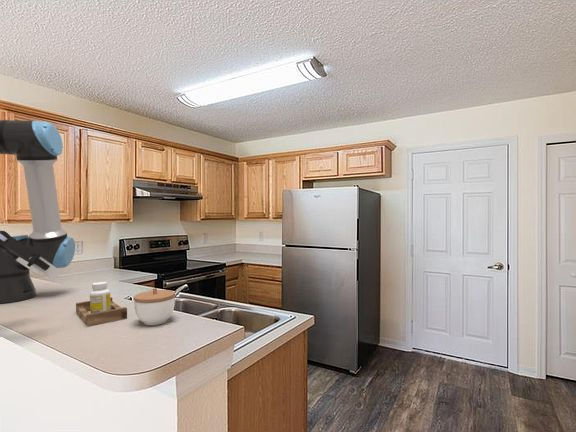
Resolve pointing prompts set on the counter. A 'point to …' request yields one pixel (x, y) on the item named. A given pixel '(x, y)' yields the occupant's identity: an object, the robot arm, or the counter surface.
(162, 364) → the counter surface
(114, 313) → the walnut frame
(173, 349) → the counter surface
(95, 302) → the supplement bottle
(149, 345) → the counter surface
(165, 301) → the lidded jar
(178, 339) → the counter surface
